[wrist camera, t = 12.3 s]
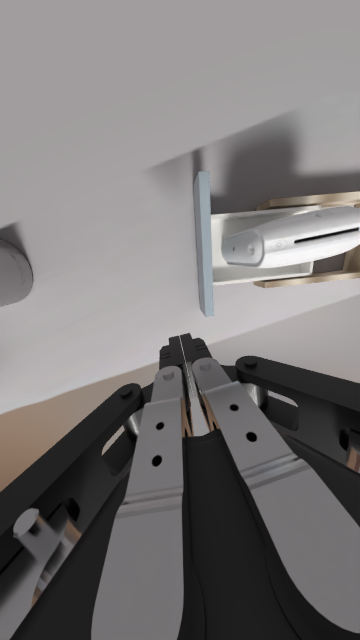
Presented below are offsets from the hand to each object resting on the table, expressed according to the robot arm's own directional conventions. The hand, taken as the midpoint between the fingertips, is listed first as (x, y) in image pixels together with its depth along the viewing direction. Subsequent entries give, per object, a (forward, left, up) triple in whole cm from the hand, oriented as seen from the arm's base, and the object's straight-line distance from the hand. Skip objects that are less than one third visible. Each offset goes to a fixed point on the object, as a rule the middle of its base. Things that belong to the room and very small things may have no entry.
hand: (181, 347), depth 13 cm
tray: (+13, +6, -17) cm, 22 cm away
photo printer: (+13, +6, -16) cm, 22 cm away
